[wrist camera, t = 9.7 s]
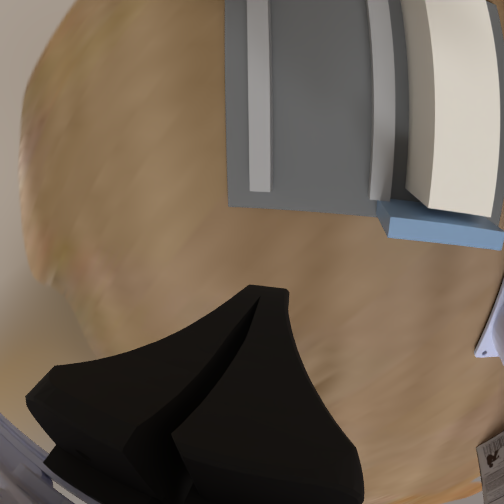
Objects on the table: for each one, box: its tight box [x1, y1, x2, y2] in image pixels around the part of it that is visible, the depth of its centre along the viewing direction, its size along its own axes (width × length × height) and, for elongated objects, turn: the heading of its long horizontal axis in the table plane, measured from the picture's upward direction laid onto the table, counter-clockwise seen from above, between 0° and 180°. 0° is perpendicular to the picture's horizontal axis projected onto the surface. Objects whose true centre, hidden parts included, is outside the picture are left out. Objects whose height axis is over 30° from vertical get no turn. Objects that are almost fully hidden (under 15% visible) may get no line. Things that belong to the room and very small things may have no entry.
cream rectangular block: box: [400, 0, 500, 217], centre depth 10 cm, size 4×12×4 cm, turn 2°
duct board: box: [225, 0, 504, 250], centre depth 12 cm, size 18×16×4 cm
